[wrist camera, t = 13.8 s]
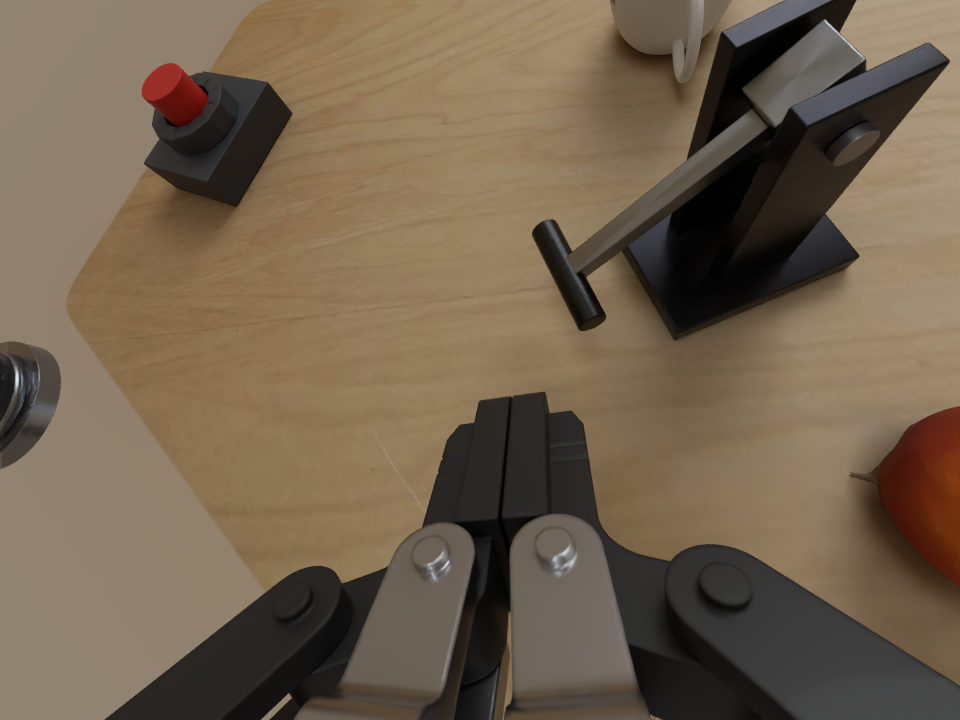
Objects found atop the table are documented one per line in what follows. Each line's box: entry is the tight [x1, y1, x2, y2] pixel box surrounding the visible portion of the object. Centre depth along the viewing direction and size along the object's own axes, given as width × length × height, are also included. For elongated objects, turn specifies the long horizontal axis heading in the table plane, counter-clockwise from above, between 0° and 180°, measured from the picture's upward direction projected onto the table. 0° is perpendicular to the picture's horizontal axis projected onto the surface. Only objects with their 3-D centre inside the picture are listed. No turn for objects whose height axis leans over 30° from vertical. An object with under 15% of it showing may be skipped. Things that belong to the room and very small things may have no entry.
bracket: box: [623, 0, 950, 340], centre depth 20 cm, size 10×8×13 cm
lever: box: [532, 20, 866, 331], centre depth 19 cm, size 13×6×2 cm, turn 110°
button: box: [142, 63, 208, 127], centre depth 34 cm, size 4×4×3 cm
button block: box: [144, 72, 292, 206], centre depth 37 cm, size 10×8×5 cm
